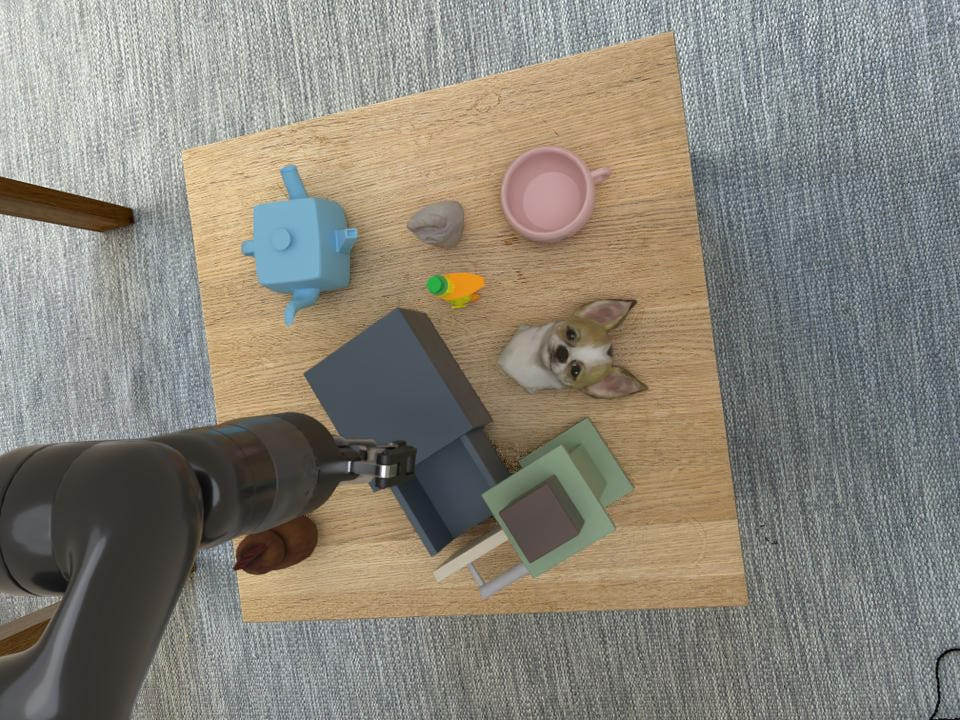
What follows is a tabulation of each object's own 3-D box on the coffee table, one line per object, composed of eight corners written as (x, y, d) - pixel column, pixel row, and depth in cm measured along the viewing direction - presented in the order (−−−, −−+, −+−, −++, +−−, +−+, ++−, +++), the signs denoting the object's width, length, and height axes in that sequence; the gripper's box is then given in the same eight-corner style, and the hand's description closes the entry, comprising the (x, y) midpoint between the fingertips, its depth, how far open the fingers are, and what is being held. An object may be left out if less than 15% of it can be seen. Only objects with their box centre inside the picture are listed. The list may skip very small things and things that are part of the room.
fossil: (466, 205, 87) (441, 185, 77) (483, 230, 86) (460, 213, 76) (425, 235, 88) (395, 219, 78) (441, 260, 87) (413, 247, 78)
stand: (634, 487, 82) (625, 532, 61) (564, 529, 84) (531, 587, 63) (588, 416, 83) (563, 435, 62) (520, 459, 85) (472, 492, 64)
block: (585, 522, 62) (579, 534, 57) (539, 549, 62) (529, 564, 58) (555, 474, 62) (547, 482, 58) (509, 502, 63) (498, 513, 59)
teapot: (267, 184, 92) (220, 163, 82) (377, 169, 89) (342, 145, 79) (277, 333, 92) (231, 330, 82) (388, 324, 89) (353, 319, 79)
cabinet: (493, 420, 86) (473, 428, 77) (404, 478, 88) (373, 492, 79) (425, 312, 88) (397, 306, 78) (339, 372, 90) (302, 373, 81)
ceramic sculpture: (487, 310, 77) (638, 289, 74) (499, 314, 85) (635, 296, 83) (500, 415, 77) (652, 398, 74) (511, 409, 85) (648, 394, 83)
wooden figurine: (318, 502, 91) (252, 529, 76) (332, 549, 90) (268, 585, 76) (268, 517, 92) (194, 547, 78) (282, 563, 92) (210, 602, 77)
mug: (525, 261, 85) (515, 254, 79) (496, 178, 86) (484, 165, 80) (629, 220, 82) (627, 210, 77) (598, 135, 83) (593, 118, 77)
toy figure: (499, 273, 86) (473, 259, 74) (503, 305, 86) (478, 296, 74) (441, 282, 87) (407, 270, 76) (445, 313, 87) (412, 306, 76)
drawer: (563, 545, 83) (554, 564, 76) (478, 596, 85) (460, 619, 78) (476, 406, 85) (458, 411, 78) (395, 460, 88) (370, 469, 80)
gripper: (165, 512, 53) (279, 479, 69) (356, 542, 50) (430, 500, 66) (174, 404, 53) (286, 396, 69) (366, 427, 50) (437, 412, 66)
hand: (356, 446), depth 67 cm, fingers open, 8 cm apart
